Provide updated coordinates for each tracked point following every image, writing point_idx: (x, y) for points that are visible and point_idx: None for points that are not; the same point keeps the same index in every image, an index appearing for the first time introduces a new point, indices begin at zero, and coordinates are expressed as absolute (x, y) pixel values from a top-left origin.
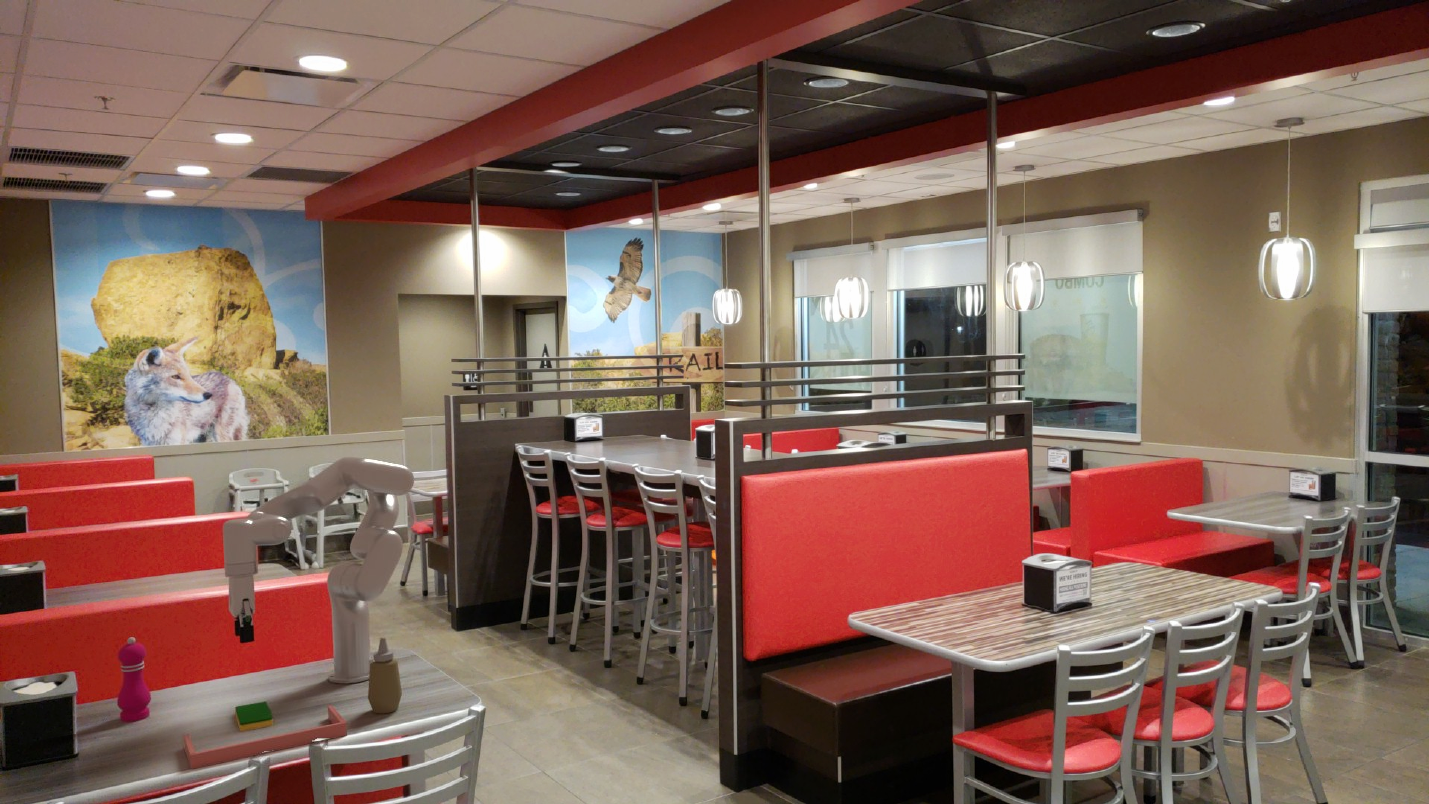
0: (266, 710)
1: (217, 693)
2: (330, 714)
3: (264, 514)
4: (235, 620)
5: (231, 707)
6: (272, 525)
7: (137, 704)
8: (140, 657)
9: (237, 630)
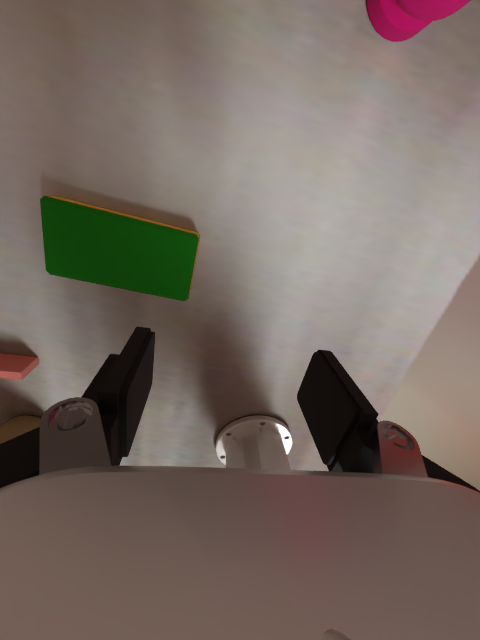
0: (111, 279)
1: (383, 255)
2: (3, 363)
3: None
4: (372, 419)
5: (259, 243)
6: None
7: None
8: None
9: (324, 375)
